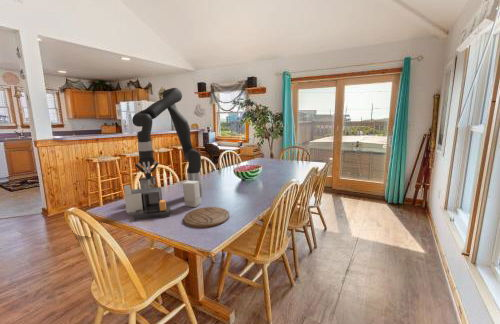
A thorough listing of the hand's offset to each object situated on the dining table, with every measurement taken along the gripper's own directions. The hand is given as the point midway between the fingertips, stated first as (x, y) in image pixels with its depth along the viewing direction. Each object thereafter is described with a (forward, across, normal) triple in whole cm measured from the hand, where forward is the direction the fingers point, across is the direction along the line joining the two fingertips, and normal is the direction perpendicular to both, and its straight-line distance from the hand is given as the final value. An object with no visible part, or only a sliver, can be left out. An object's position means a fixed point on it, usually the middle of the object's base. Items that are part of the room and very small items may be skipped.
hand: (148, 179), depth 144 cm
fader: (+18, -7, +4) cm, 19 cm away
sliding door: (+20, +10, -2) cm, 23 cm away
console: (+21, -1, +4) cm, 21 cm away
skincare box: (+21, -23, -8) cm, 32 cm away
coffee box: (+21, +6, -27) cm, 35 cm away
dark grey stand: (+21, +5, -7) cm, 23 cm away
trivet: (+22, -32, +15) cm, 41 cm away
